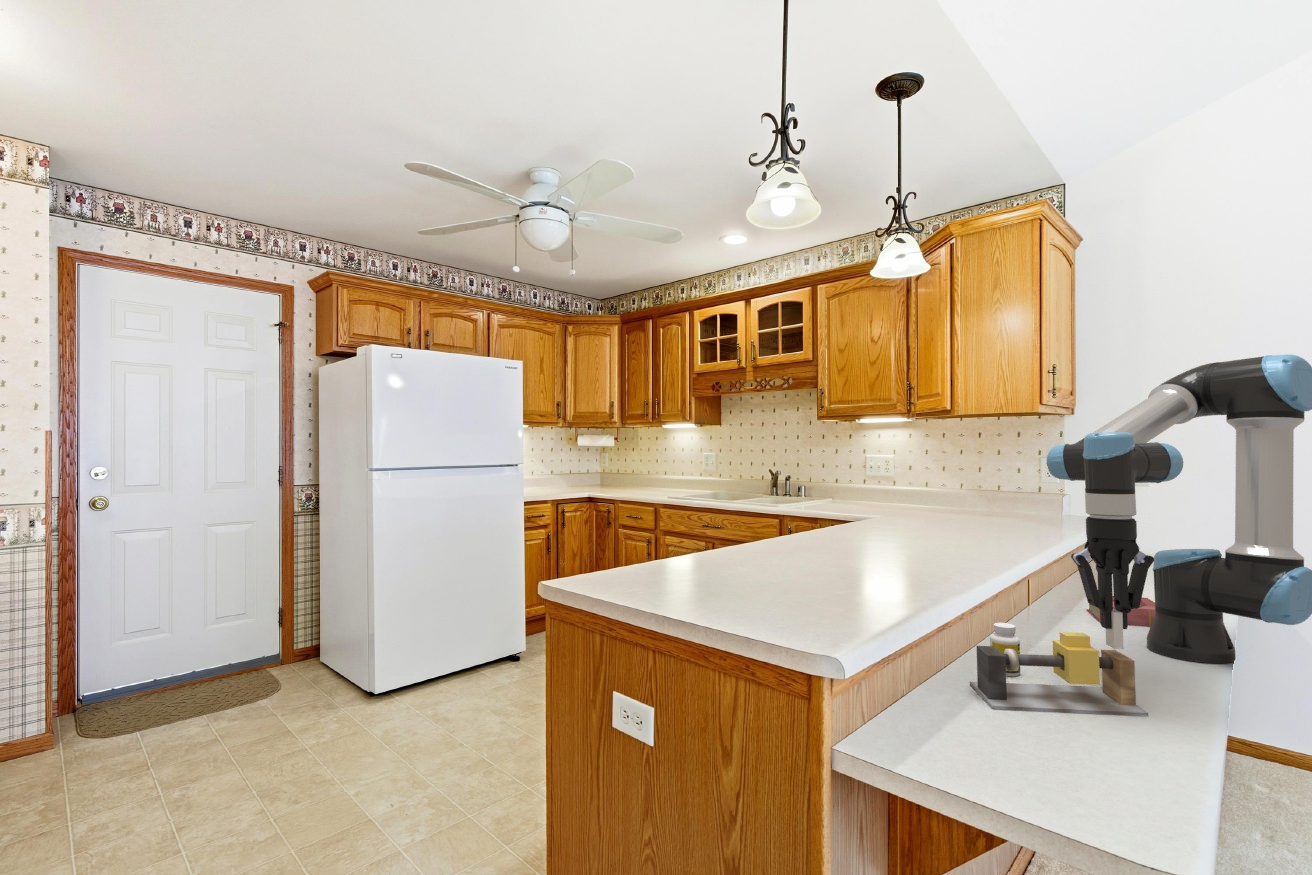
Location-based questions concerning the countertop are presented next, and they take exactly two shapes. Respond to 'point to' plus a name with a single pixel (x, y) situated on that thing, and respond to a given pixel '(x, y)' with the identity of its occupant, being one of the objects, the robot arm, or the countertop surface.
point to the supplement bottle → (1006, 641)
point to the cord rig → (1107, 699)
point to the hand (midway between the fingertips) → (1114, 646)
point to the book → (1133, 613)
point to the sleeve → (1077, 659)
